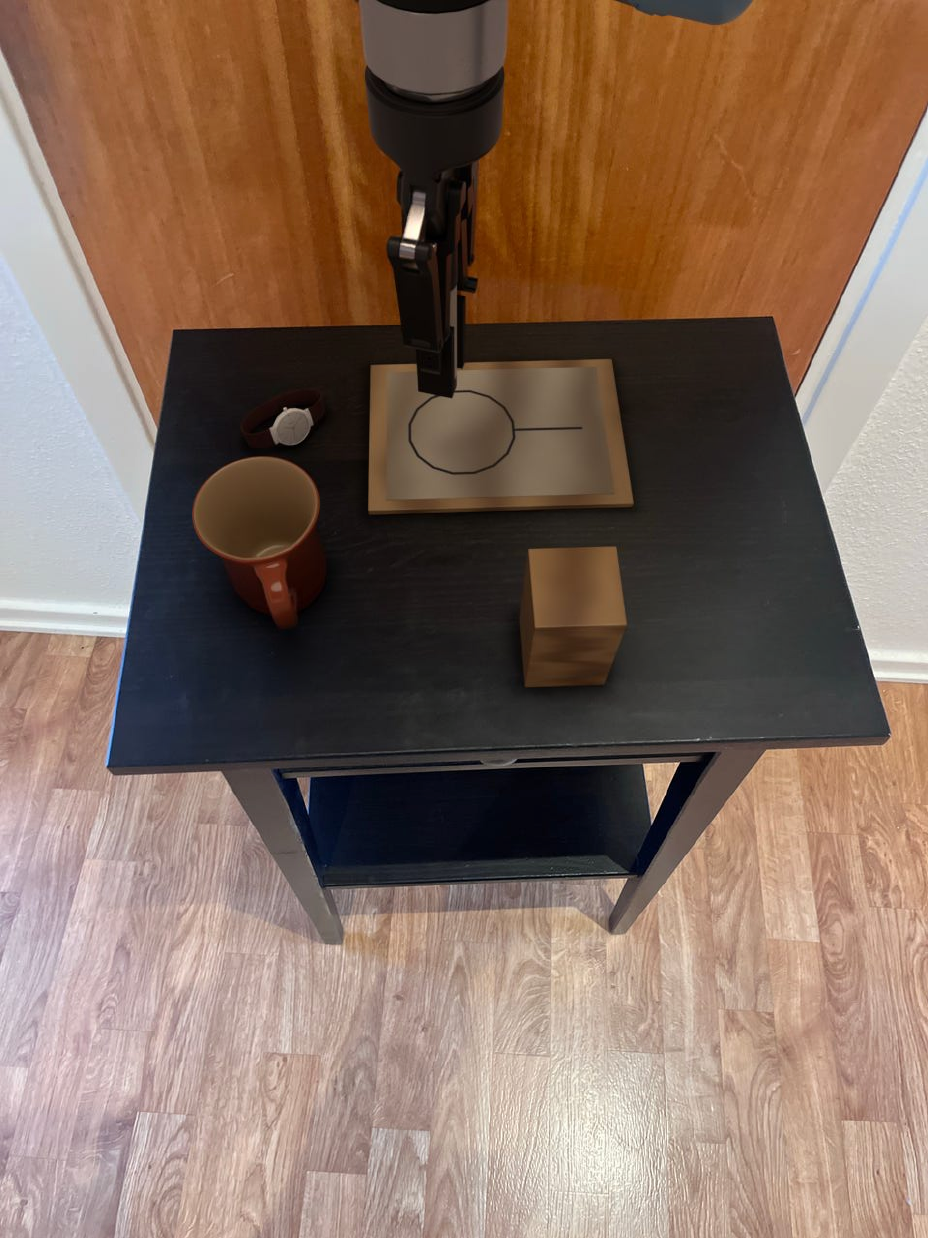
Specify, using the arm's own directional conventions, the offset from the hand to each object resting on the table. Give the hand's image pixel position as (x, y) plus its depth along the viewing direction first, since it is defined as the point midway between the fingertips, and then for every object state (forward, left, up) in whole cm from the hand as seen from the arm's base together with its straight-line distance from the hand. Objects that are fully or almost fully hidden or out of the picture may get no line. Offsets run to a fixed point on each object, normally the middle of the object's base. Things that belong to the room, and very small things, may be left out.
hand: (441, 375), depth 66 cm
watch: (+14, +1, -9) cm, 17 cm away
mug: (+8, +17, -9) cm, 21 cm away
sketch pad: (-4, -3, -9) cm, 10 cm away
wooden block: (-14, +16, -9) cm, 23 cm away
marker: (0, 0, -1) cm, 1 cm away
